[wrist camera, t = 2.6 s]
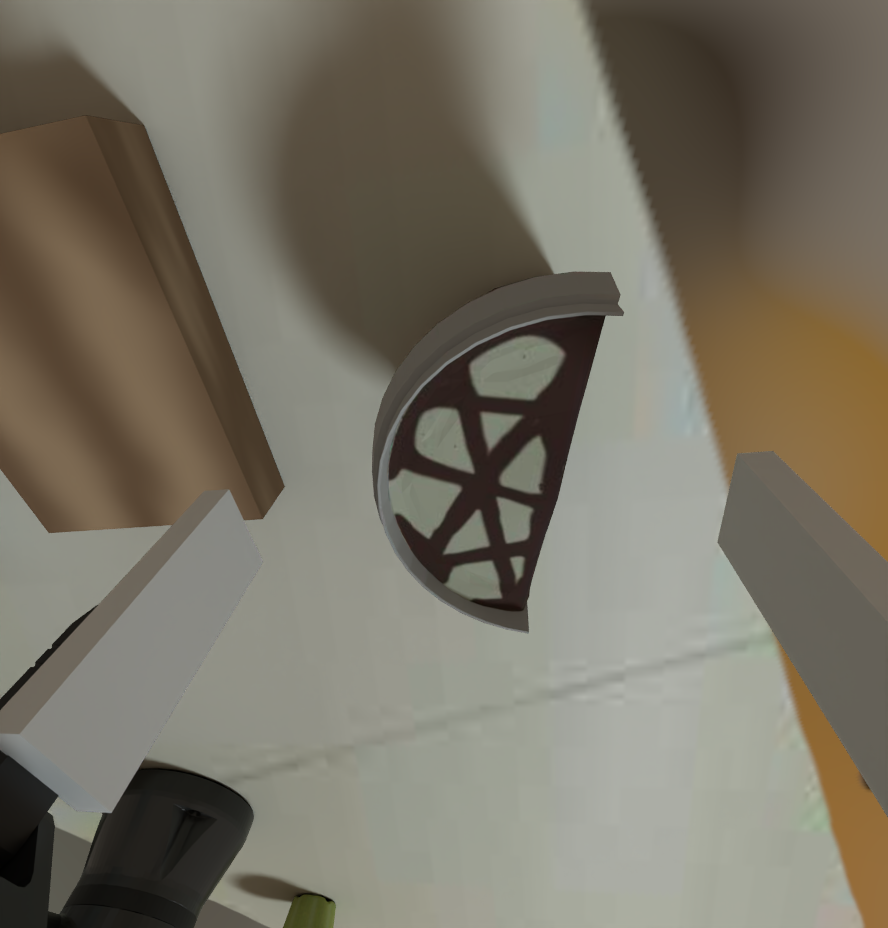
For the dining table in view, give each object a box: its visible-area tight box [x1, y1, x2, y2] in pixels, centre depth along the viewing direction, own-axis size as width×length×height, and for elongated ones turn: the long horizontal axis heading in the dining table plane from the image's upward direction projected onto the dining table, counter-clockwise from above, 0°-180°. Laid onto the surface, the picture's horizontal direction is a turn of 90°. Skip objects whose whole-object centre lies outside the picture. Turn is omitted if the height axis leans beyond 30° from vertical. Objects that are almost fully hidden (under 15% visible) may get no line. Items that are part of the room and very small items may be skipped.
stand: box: [0, 115, 285, 533], centre depth 22 cm, size 13×17×3 cm
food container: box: [372, 272, 624, 633], centre depth 17 cm, size 12×6×10 cm, turn 175°
